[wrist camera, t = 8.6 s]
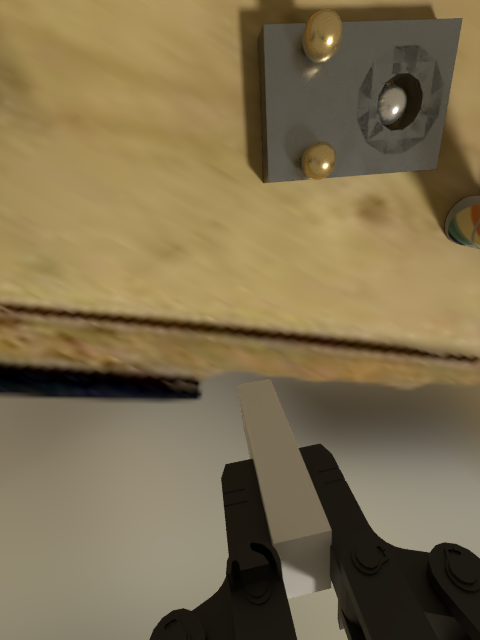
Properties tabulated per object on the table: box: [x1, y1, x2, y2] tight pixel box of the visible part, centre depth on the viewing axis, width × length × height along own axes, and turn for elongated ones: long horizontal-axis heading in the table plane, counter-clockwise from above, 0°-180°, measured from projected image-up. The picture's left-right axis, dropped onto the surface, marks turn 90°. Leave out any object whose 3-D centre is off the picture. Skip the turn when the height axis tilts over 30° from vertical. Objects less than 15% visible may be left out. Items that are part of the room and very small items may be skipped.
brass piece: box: [301, 141, 337, 180], centre depth 28 cm, size 3×3×3 cm
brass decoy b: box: [302, 9, 343, 63], centre depth 25 cm, size 3×3×3 cm
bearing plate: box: [258, 18, 462, 183], centre depth 29 cm, size 18×12×2 cm, turn 95°
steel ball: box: [377, 85, 407, 125], centre depth 29 cm, size 3×3×3 cm
